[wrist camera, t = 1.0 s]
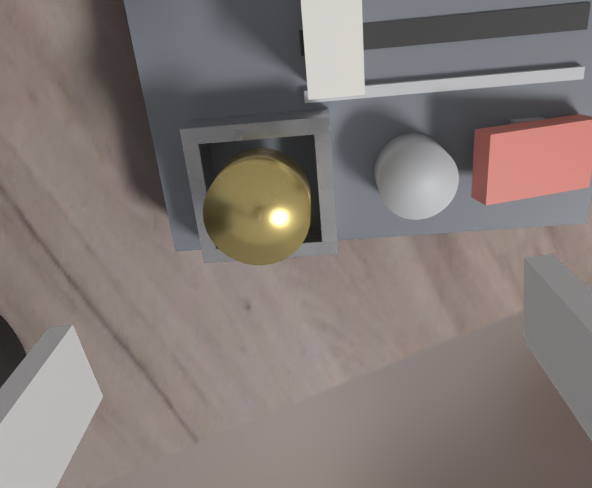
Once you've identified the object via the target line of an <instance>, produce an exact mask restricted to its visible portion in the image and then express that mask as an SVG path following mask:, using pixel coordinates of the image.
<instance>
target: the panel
mask: <svg viewBox="0 0 592 488" xmlns="http://www.w3.org/2000/svg"><path fill="white" fill-rule="evenodd" d="M123 1H124V5H125V10H126V15H127V20H128V25H129V30H130V34H131V39H132V44H133V49H134V54H135V59H136V63H137V68H138V73H139V78H140V83H141V88H142V92H143V97H144V102H145V107H146V112H147V116H148V121H149V126H150V131H151V136H152V141H153V145H154V150H155V155H156V160H157V165H158V170H159V174H160V179H161V184H162V189H163V194H164V199H165V203H166V208H167V213H168V218H169V223H170V228H171V232H172V237H173V242H174V247H175V251H188V250H202V249H201V244H200V238H199V233H198V227H197V222H196V217H195V211H194V206H193V200H192V195H191V189H190V184H189V178H188V173H187V167H186V162H185V157H184V151H183V146H182V140H181V135H180V129H181V128H182V127H183V126H184V125H185V124H186V123H187V122H188V121H190V120H191V119H203V118H214V117H226V116H238V115H249V114H261V113H273V112H285V111H296V110H308V109H320V108H328V109H329V116H330V131H331V148H332V164H333V180H334V197H335V213H336V229H337V240H350V239H365V238H379V237H394V236H409V235H423V234H438V233H453V232H467V231H482V230H497V229H511V228H526V227H541V226H555V225H570V224H585V223H587V219H588V213H589V206H590V200H591V194H592V172H591V179H590V185H589V187H588V188H582V189H577V190H571V191H566V192H560V193H554V194H549V195H543V196H537V197H532V198H526V199H520V200H515V201H509V202H503V203H498V204H492V205H484V204H482V203H480V202H479V201H477V200H475V199H473V198H472V197H471V189H472V171H473V153H474V135H475V129H481V128H488V127H495V126H501V125H508V124H515V123H522V122H528V121H535V120H546V119H549V118H555V117H562V116H569V115H576V114H582V115H587V116H591V117H592V0H362V18H363V49H364V80H365V95H358V96H346V97H335V98H323V99H311V100H308V89H307V76H306V63H305V50H304V37H303V24H302V11H301V0H123ZM209 144H210V151H211V157H212V163H213V169H214V175H215V178H216V176H217V174H218V173H219V171H220V169H221V168H222V167H223V165H224V164H225V163H226V162H227V161H228V160H229V159H230V158H231V157H233V156H234V155H236V154H237V153H239V152H242V151H244V150H248V149H252V148H270V149H274V150H277V151H280V152H282V153H284V154H286V155H288V156H289V157H291V158H292V159H293V160H295V161H296V162H297V163H298V164H299V166H300V167H301V168H302V169H303V171H304V173H305V174H306V176H307V179H308V181H309V185H310V190H311V217H310V225H317V224H321V218H320V204H319V191H318V177H317V164H316V150H315V137H314V135H303V136H291V137H279V138H267V139H254V140H242V141H230V142H218V143H209Z"/></svg>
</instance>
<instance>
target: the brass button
mask: <svg viewBox="0 0 592 488" xmlns="http://www.w3.org/2000/svg"><path fill="white" fill-rule="evenodd" d="M310 217H311V190H310V185H309V181H308V179H307V176H306V174H305V173H304V171H303V169H302V168H301V167H300V166H299V164H298V163H297V162H296V161H295V160H293V159H292V158H291V157H289V156H288V155H286V154H284V153H282V152H280V151H277V150H274V149H270V148H252V149H248V150H244V151H242V152H239V153H237V154H236V155H234V156H233V157H231V158H230V159H229V160H228V161H227V162H226V163H225V164H224V165H223V167H222V168H221V169H220V171H219V173H218V174H217V176H216V178H215V180H214V181H213V183H212V185H211V186H210V188H209V190H208V192H207V194H206V197H205V200H204V204H203V221H204V225H205V228H206V231H207V233H208V235H209V237H210V239H211V240H212V242H213V243H214V244H215V245H216V247H217V248H218V249H219V250H221V251H222V252H223V253H224V254H226V255H227V256H229V257H230V258H232V259H234V260H236V261H239V262H242V263H246V264H252V265H266V264H272V263H276V262H278V261H281V260H283V259H285V258H287V257H289V256H290V255H291V254H293V253H294V252H295V251H296V250H297V249H298V248H299V247H300V246H301V244H302V243H303V241H304V240H305V238H306V236H307V233H308V230H309V227H310Z"/></svg>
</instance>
